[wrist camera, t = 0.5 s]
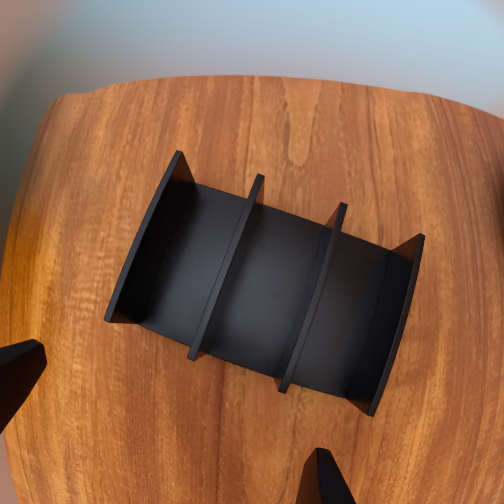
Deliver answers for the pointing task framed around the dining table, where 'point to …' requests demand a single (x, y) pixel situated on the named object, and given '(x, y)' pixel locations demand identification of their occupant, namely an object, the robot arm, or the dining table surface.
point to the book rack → (268, 288)
